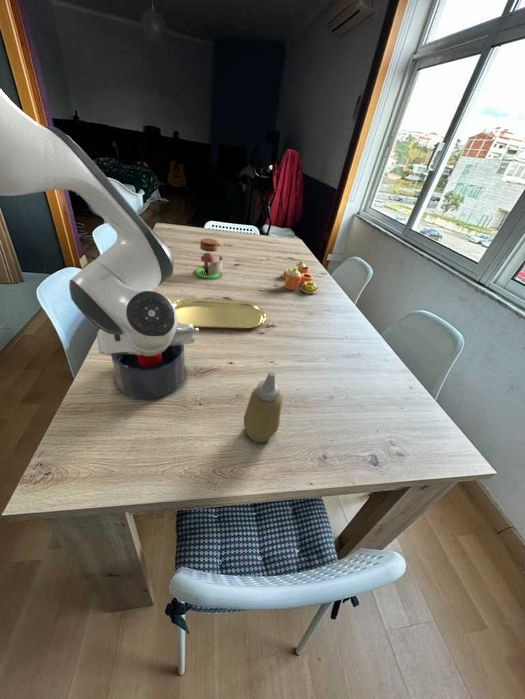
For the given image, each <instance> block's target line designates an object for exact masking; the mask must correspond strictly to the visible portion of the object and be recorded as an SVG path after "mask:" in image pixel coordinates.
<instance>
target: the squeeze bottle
mask: <svg viewBox="0 0 525 699" xmlns="http://www.w3.org/2000/svg"><path fill="white" fill-rule="evenodd" d="M282 406H283V396H282V394H281V387H280V385H279V384H278V383H277V382H276V373H275V372H274V371H270V372H268V374H267V376H266V378H265V379H263V380H261V381H259V382H258V384H257V386H256V387H255V388H254V389H253V390H252V392H251V394H250V397H249V400H248V404H247V406H246V409H245V412H244V416H243V425H244V429H245V431H246V434H247V436H248V437H249V439H250V440H252V441H254V442H256V443H264V442H267V441H269V440H270V439H271V438H272V437H273V436H274V435H275V434H276V433H277V432H278V430H279V427H280V422H281V413H282Z"/></svg>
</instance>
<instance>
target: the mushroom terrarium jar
mask: <svg viewBox="0 0 525 699" xmlns="http://www.w3.org/2000/svg"><path fill="white" fill-rule="evenodd" d="M218 244H219V242H218V241H217V240H216V239H214V238H207V237H206V238H201V239H200V248H199V249H200V250H201V251H204V253H203V255H201V256H200V260H201V262H203V263H204V264H203V265H202V267H201V268H199V269H197V270H196V271H195V274H196V276H198V277H199V278H203V279H209V280H210V279H211V280H212V279H217V278H219V277H220V275H221V272H222V271H223V257H222V256H221V255H219V261H215V256H214V255H213V254H212V253H214V252H217V251H218V248H219V247H218V246H219V245H218ZM204 270H205V271H204ZM203 271H204V273H203ZM205 273H206V274H205Z"/></svg>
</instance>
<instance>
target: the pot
mask: <svg viewBox="0 0 525 699" xmlns="http://www.w3.org/2000/svg"><path fill="white" fill-rule="evenodd" d="M110 358H111V362H112V366H113V371H114V376H115V381H116V383H117V386H118V388H119V390H120V391H121V392H122V393H123V394H125V395H126V396H128V397H130V398H134V399H137V400H155V399H161V398H164V397H166V396H168V395H170V394H172V393H174V392H175V391H176V390H178V389H179V388H180V387H181V385H182V384H183V382H184V380H185V376H186V374H185V370H186V369H185V344H183V345H175V346H168V348H167V349H166V350H165V351H163V352H162V362H161V363H160V364H158V365H157V366H154V367H145V366H142V365H141V364H140V363H139V361H138V355H133V354H122V355H110Z"/></svg>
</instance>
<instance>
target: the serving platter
mask: <svg viewBox="0 0 525 699" xmlns="http://www.w3.org/2000/svg"><path fill="white" fill-rule="evenodd" d="M172 304H173V306H174V308H175V310H176V313H177V318H178V324H177V325H179V324H192V325H193V328H201V329H202V328H204V329H234V330H235V329H237V330H242V329H243V330H247V329H249V330H250V329H254V328H257V327H259V326H261V325H262V324H264V322H265V321H266V319H267V315H266V312H265V311H264V309H262V308H261V307H260V306H258V305H256V304H254V303H251V302H247V301H242V300H227V299H226V300H225V299H224V300H223V299H204V298H186V299H181V300H177V301H174V302H172Z"/></svg>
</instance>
